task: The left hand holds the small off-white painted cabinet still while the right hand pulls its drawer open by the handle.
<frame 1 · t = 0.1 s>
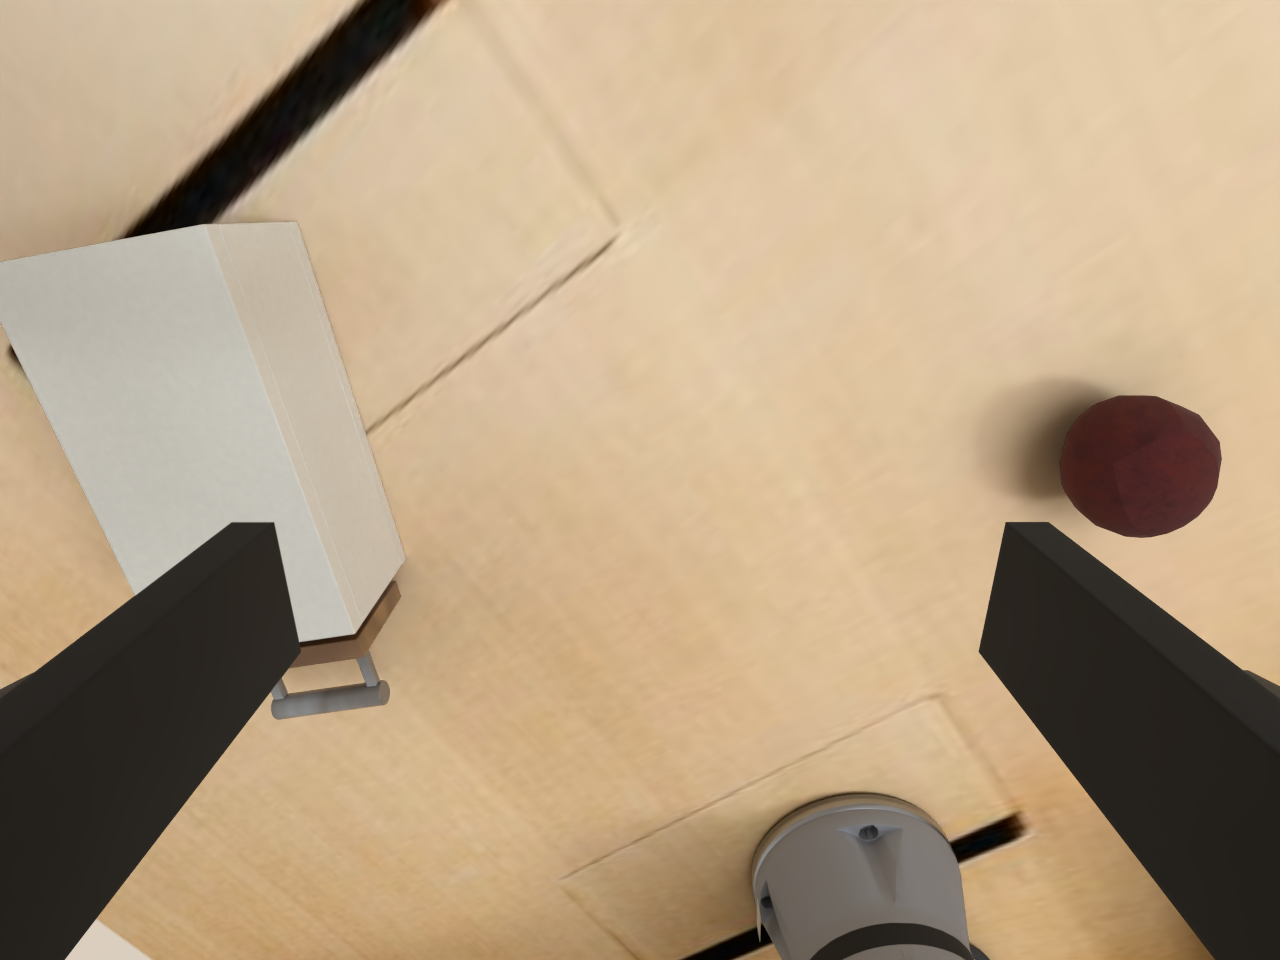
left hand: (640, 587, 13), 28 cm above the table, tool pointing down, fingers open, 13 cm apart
drawer: (267, 531, 39), point 4 cm above the table, slide at 0.9 cm
dark red ball: (1095, 442, 41), on the table
cabinet: (271, 419, 41), on the table
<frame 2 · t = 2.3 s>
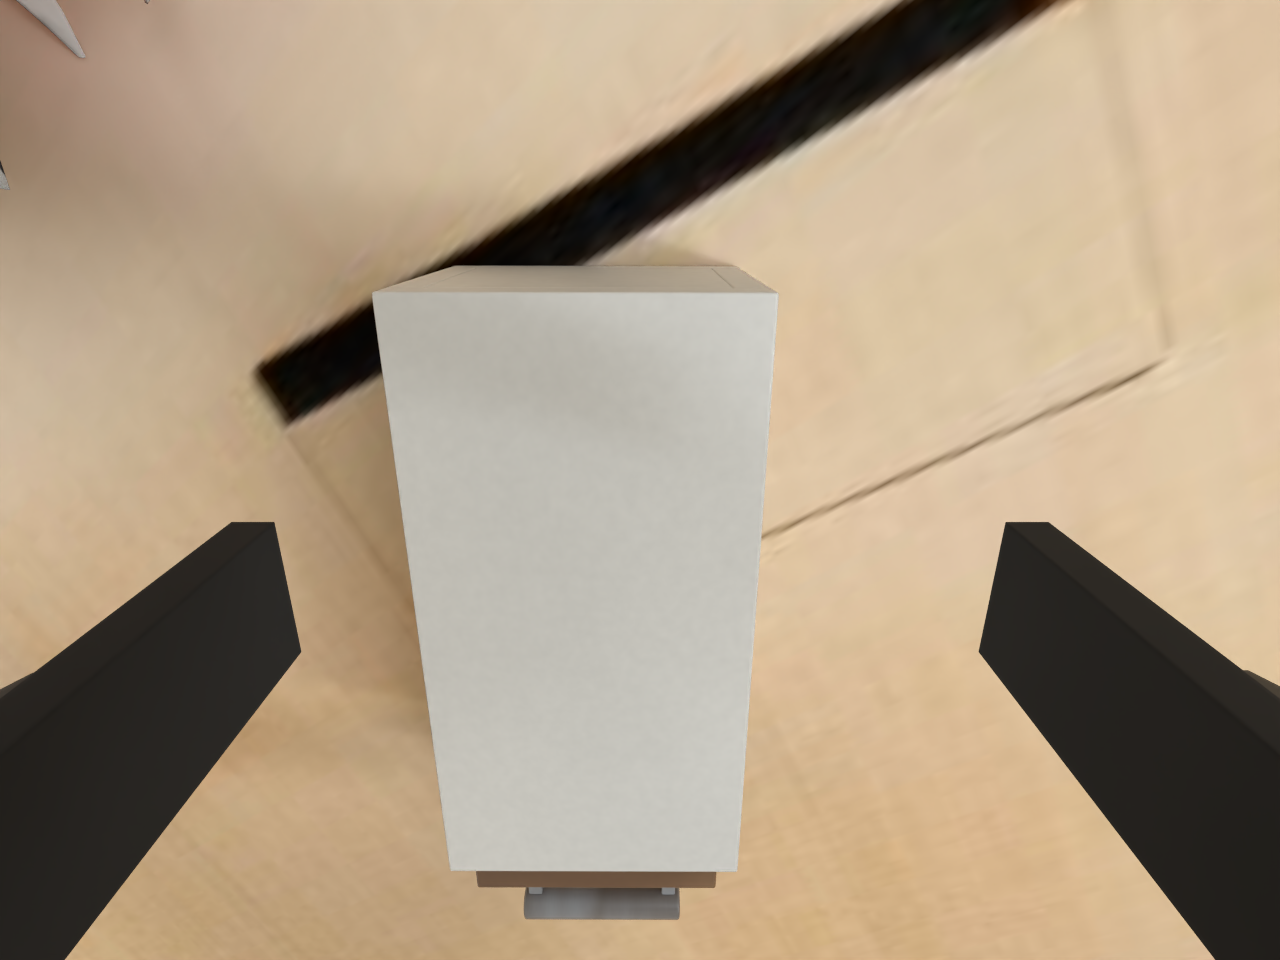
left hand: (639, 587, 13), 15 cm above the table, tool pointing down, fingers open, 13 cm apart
drawer: (597, 686, 27), point 4 cm above the table, slide at 0.9 cm
fish: (65, 6, 23), on the table
cabinet: (600, 517, 29), on the table
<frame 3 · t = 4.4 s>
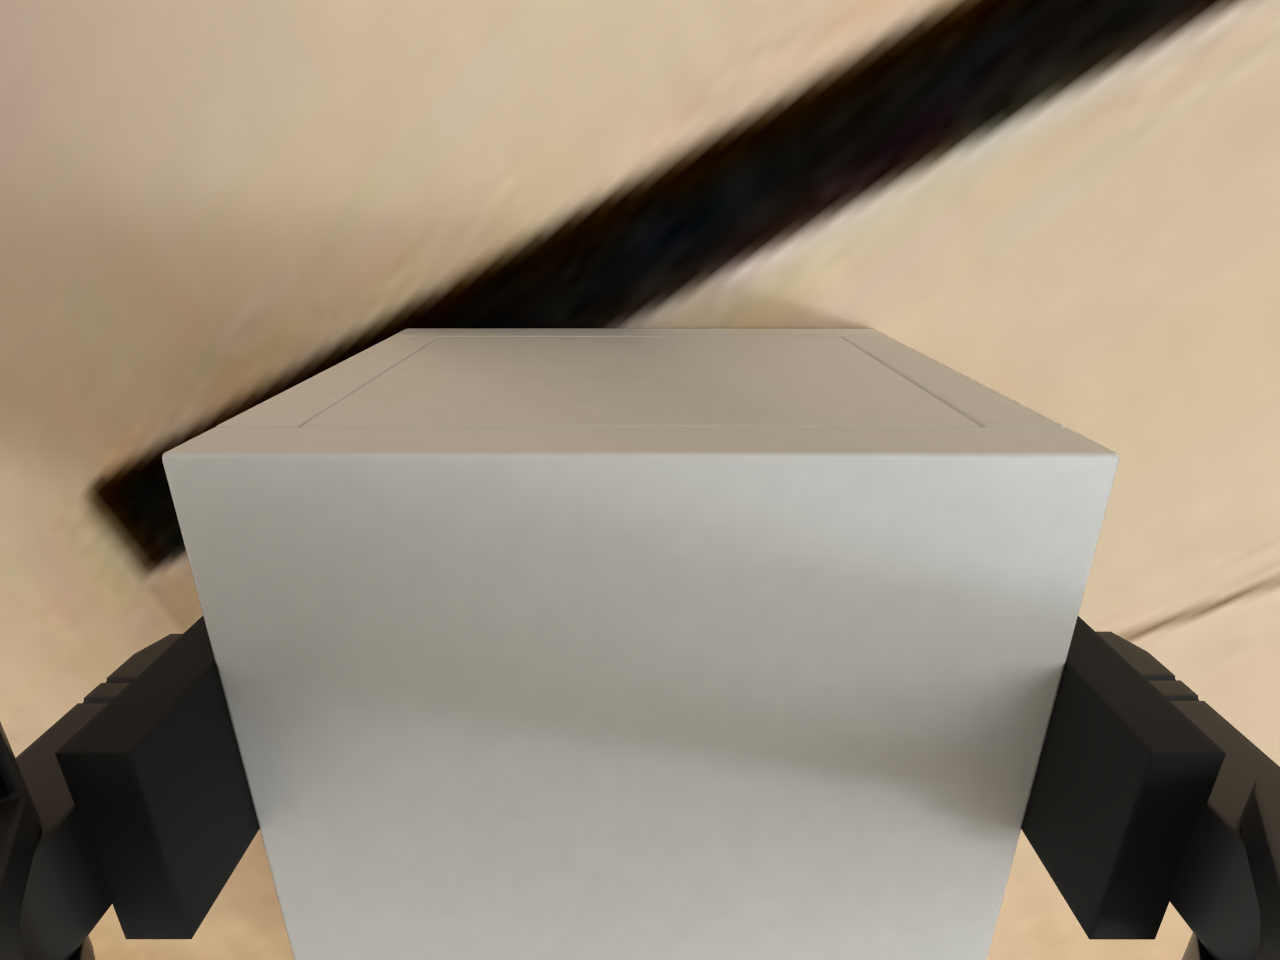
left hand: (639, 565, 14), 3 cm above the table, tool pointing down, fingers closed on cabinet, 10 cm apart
cabinet: (640, 703, 19), on the table, touching left hand
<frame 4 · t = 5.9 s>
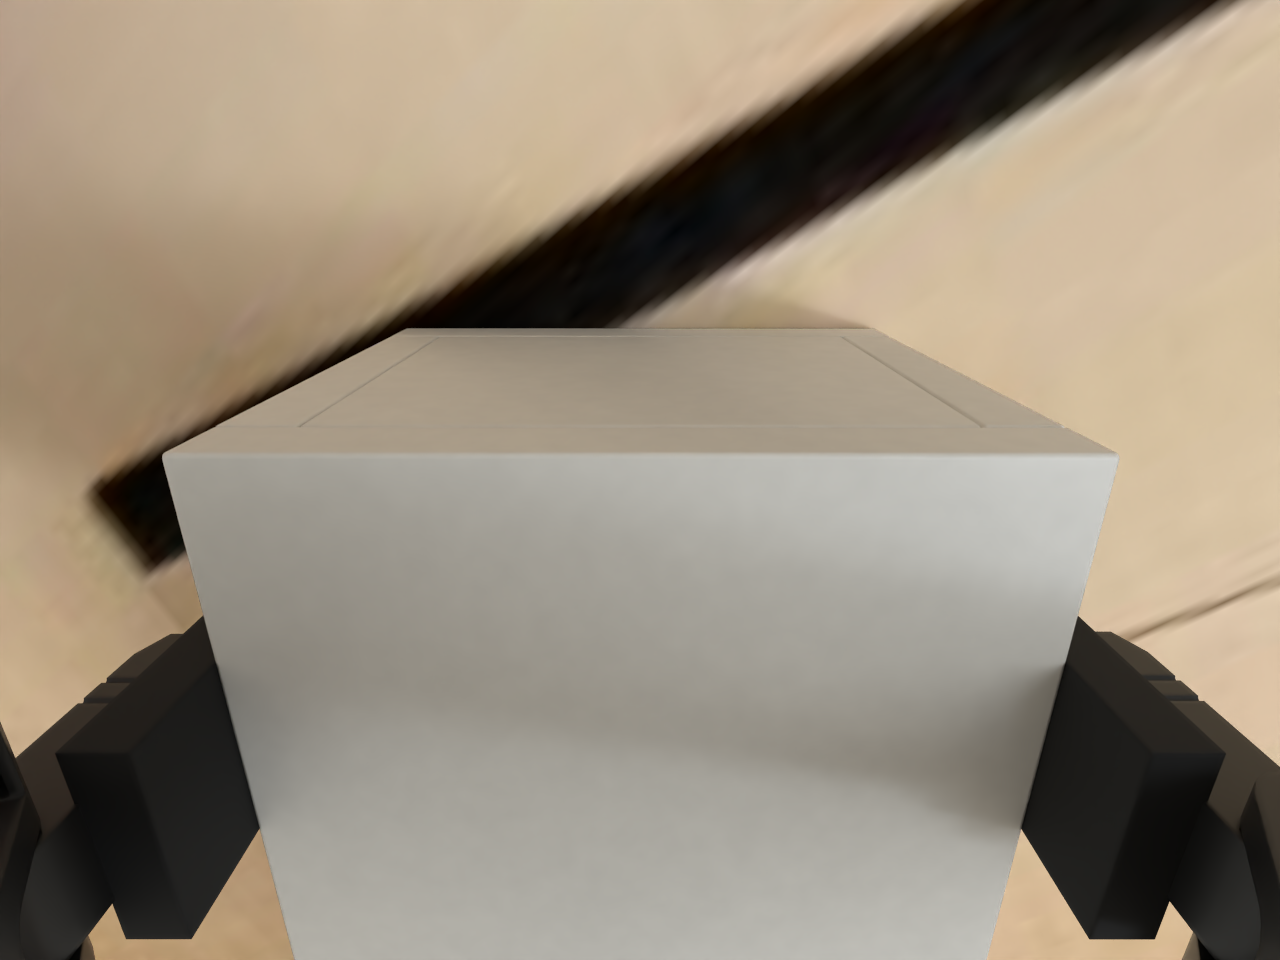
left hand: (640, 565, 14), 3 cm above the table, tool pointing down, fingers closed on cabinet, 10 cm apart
cabinet: (640, 703, 19), on the table, touching left hand
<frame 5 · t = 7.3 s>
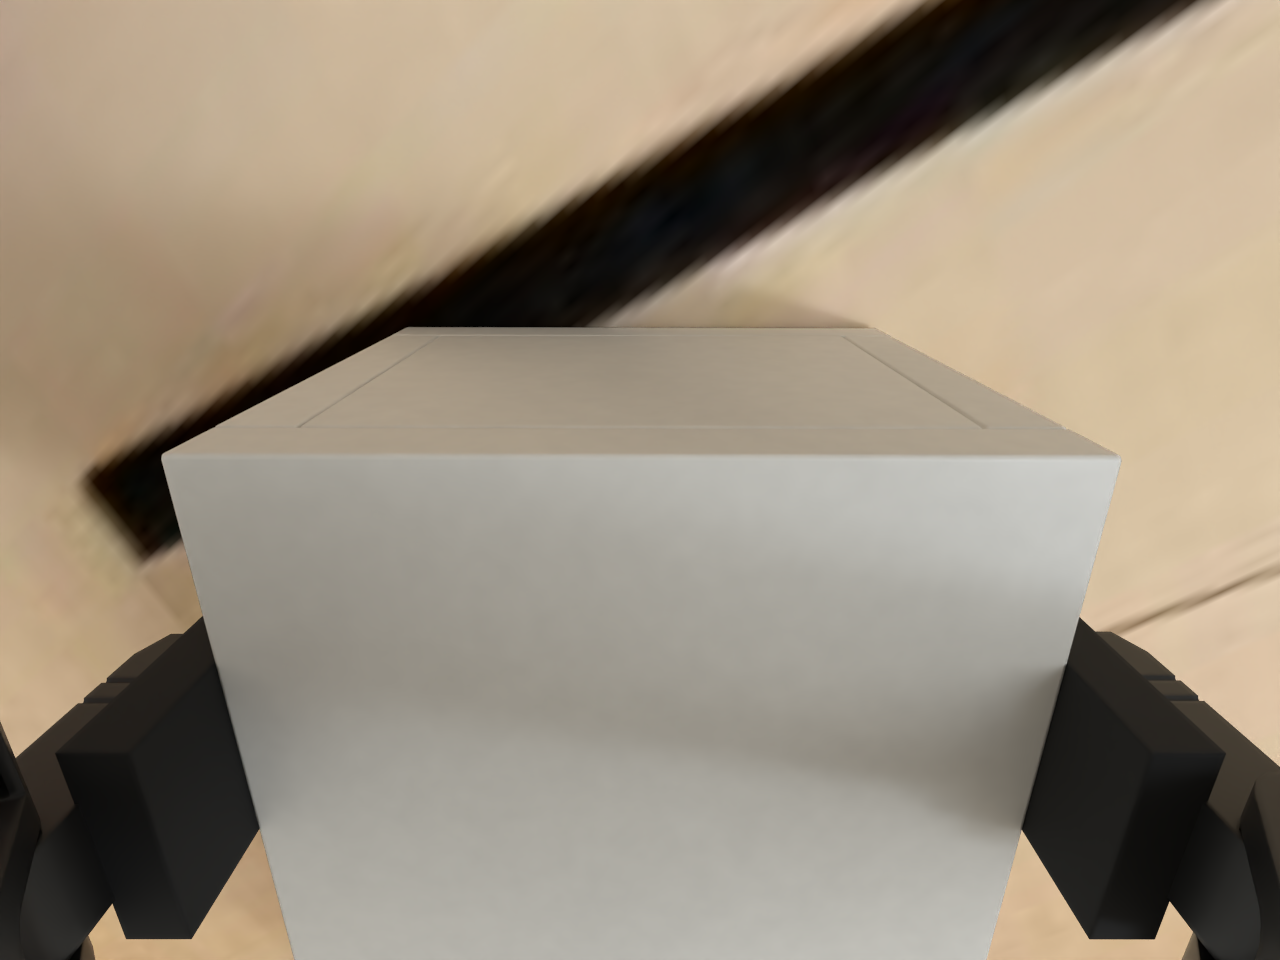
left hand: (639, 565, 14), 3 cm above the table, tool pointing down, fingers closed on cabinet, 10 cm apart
cabinet: (640, 702, 19), on the table, touching left hand
when the left hand's fingers open (4 cm above the table, at t = 8.9 s): cabinet stays where it is, on the table.
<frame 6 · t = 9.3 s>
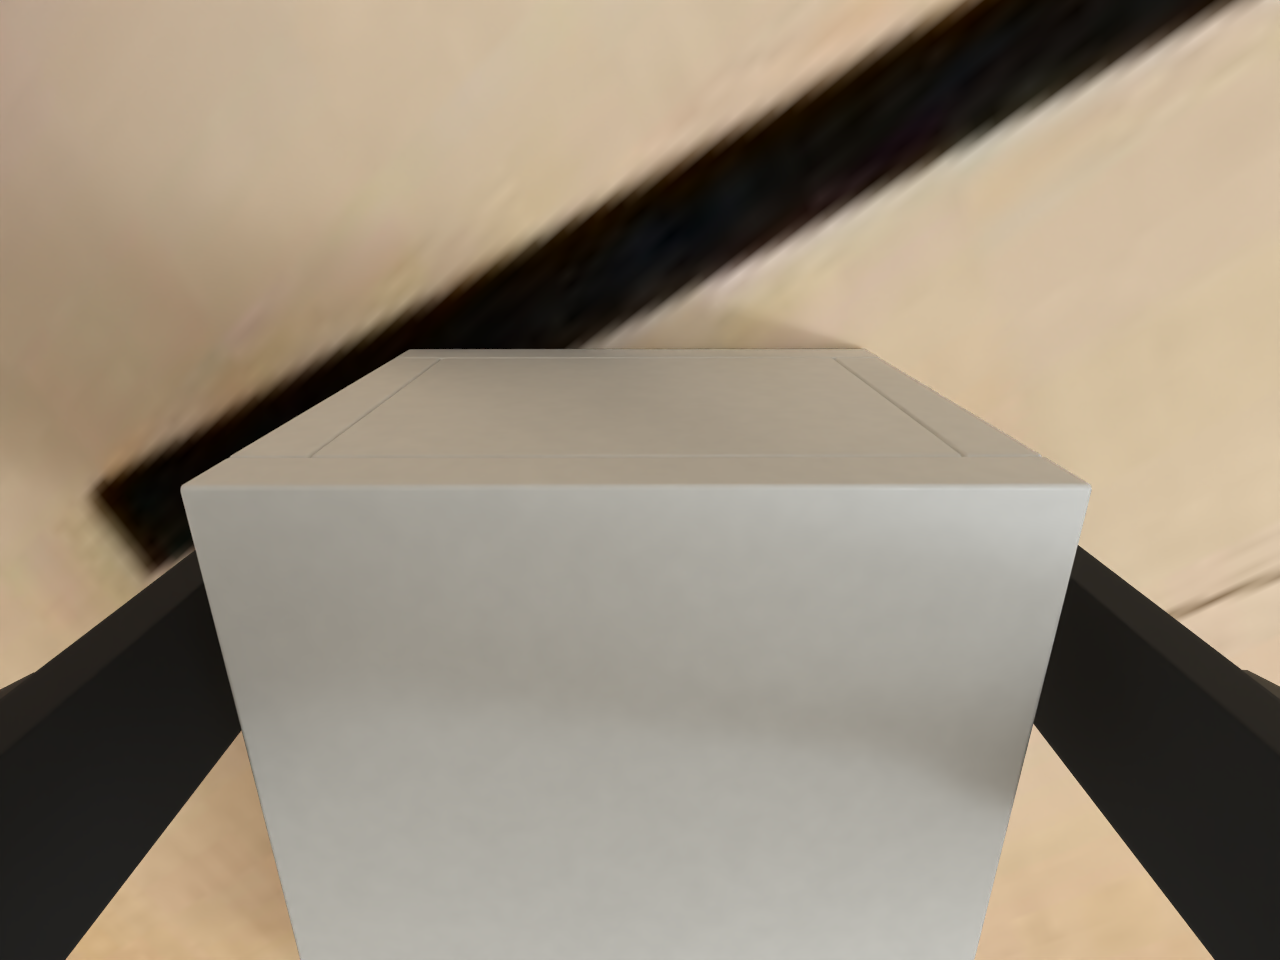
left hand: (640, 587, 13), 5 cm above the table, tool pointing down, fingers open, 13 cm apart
cabinet: (638, 713, 19), on the table
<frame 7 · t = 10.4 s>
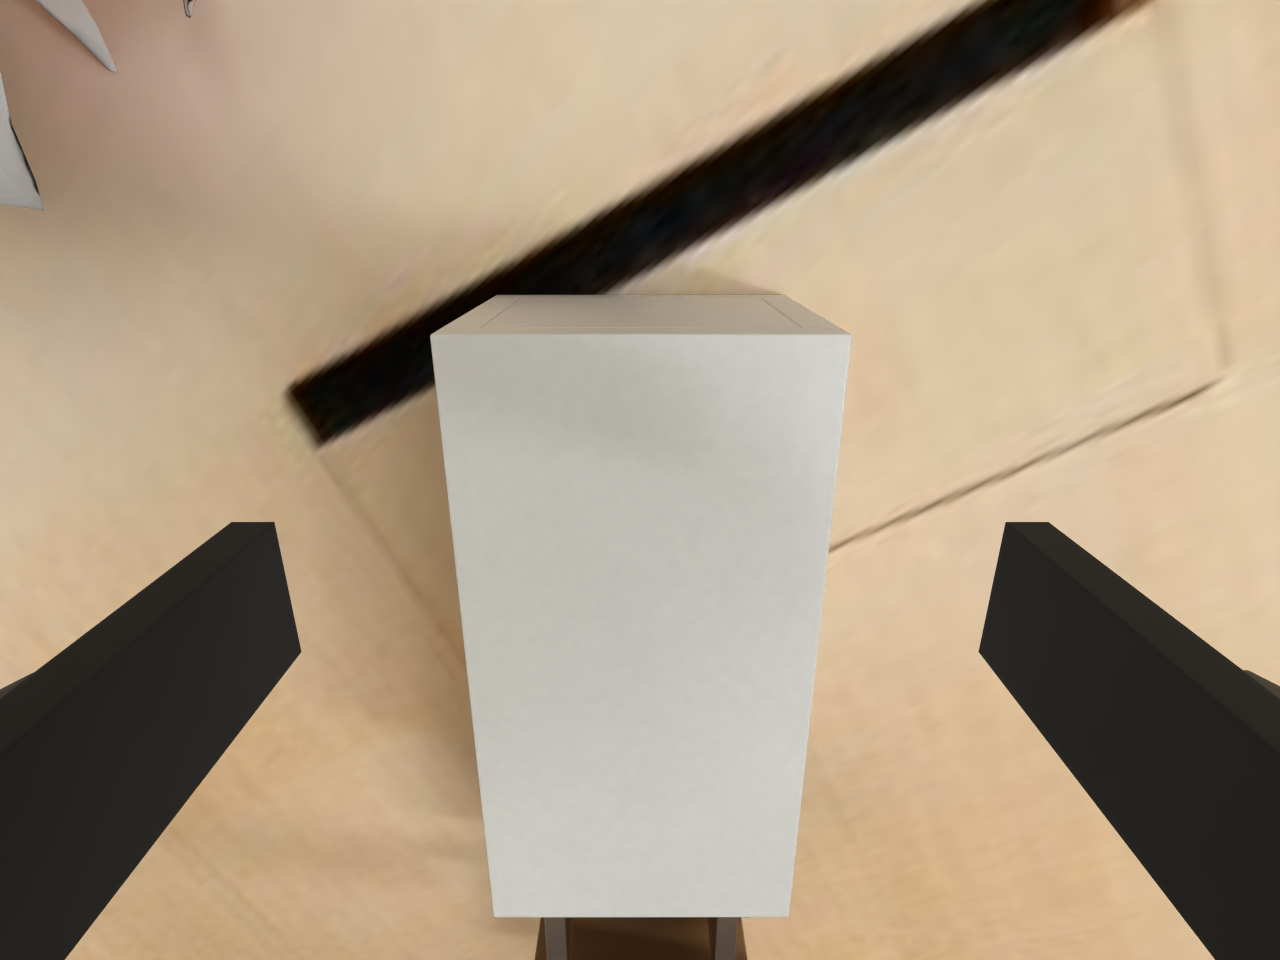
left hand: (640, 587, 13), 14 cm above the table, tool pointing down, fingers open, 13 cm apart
drawer: (640, 841, 29), point 4 cm above the table, slide at 6.9 cm
fish: (96, 18, 22), on the table
cabinet: (640, 548, 28), on the table
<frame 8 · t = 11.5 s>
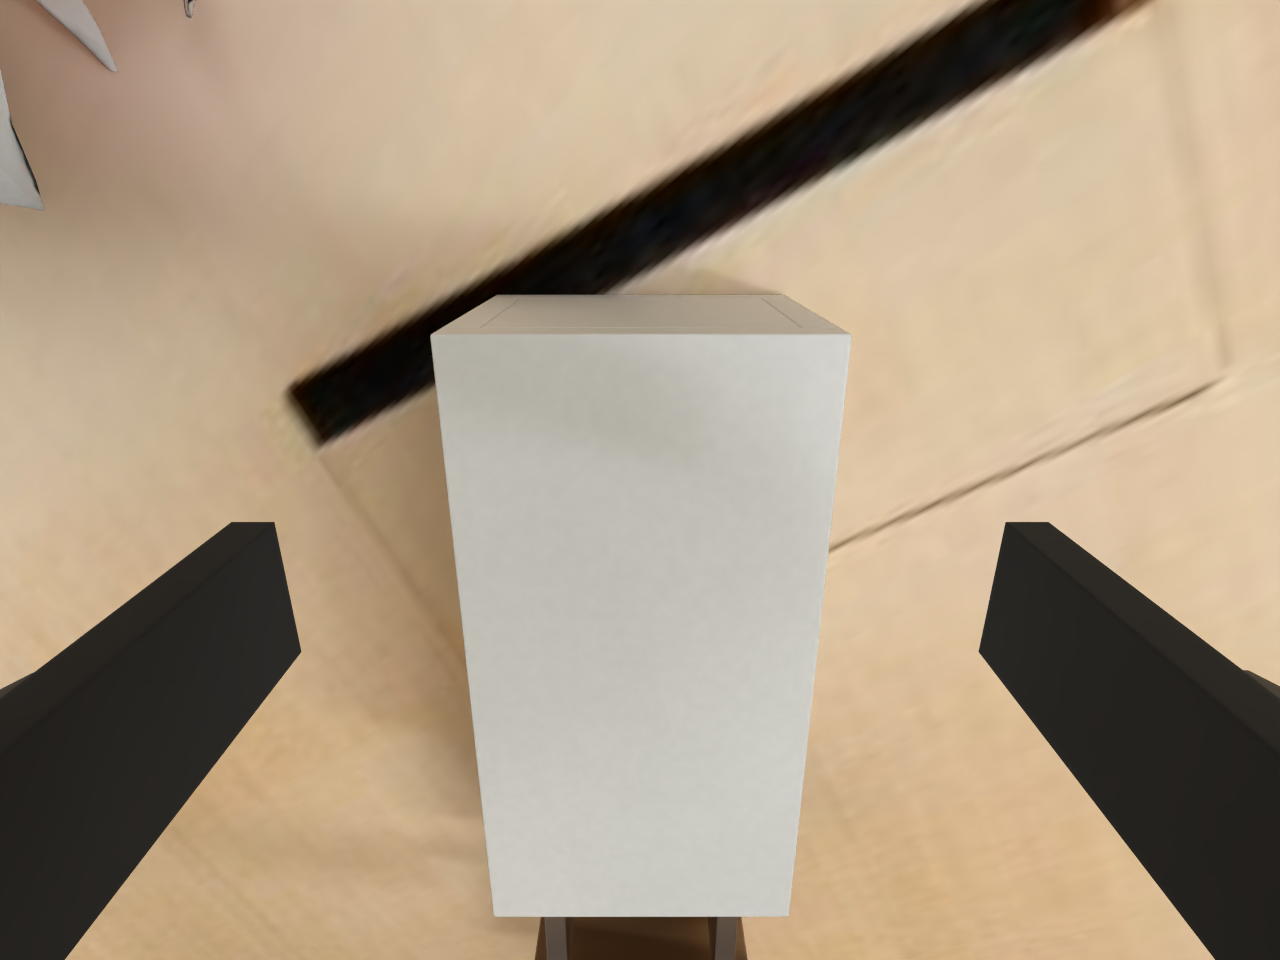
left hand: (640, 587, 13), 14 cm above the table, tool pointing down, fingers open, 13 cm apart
drawer: (641, 840, 29), point 4 cm above the table, slide at 6.9 cm
fish: (97, 18, 22), on the table
cabinet: (640, 548, 29), on the table
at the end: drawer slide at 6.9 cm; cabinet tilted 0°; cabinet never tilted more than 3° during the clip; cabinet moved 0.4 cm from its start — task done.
